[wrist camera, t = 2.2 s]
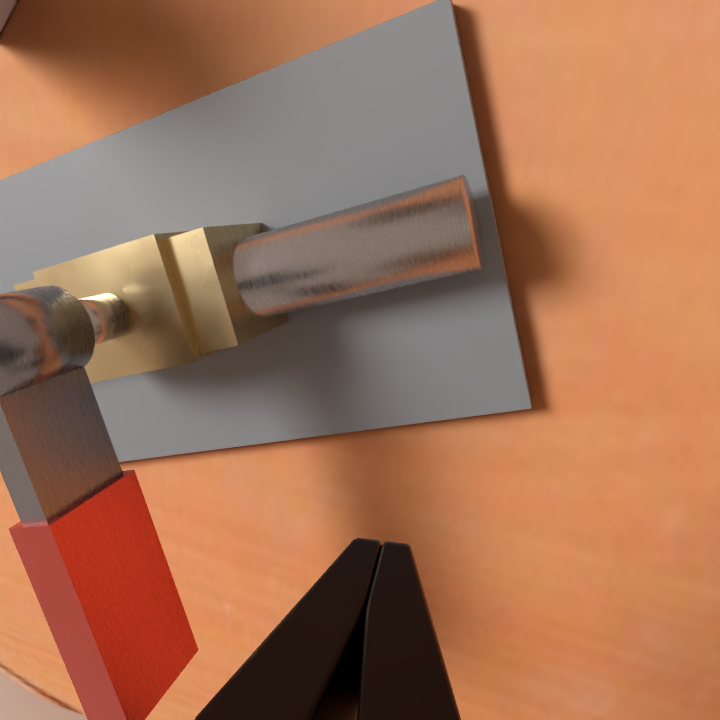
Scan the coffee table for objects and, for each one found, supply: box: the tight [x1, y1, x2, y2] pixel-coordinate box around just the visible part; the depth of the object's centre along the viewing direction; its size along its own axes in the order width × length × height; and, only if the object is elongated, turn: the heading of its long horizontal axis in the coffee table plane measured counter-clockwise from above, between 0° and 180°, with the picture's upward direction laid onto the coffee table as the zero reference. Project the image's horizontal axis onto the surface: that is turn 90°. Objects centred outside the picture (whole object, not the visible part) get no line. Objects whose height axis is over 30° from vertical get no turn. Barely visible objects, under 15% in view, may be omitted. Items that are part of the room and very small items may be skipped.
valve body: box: [14, 175, 484, 383], centre depth 20 cm, size 25×4×6 cm, turn 105°
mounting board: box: [0, 0, 532, 462], centre depth 24 cm, size 26×14×1 cm, turn 105°
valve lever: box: [0, 285, 198, 720], centre depth 17 cm, size 13×3×3 cm, turn 15°
